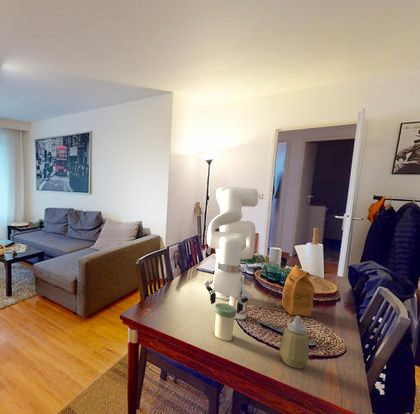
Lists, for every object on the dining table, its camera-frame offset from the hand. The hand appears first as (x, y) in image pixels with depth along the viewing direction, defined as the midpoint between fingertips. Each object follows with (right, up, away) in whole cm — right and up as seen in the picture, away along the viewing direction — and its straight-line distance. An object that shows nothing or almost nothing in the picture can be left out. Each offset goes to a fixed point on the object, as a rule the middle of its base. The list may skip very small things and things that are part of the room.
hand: (225, 307), depth 112 cm
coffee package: (+46, -10, +21) cm, 52 cm away
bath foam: (+16, -11, +17) cm, 25 cm away
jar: (0, -13, +2) cm, 13 cm away
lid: (0, -1, 0) cm, 1 cm away
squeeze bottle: (+16, -15, -14) cm, 26 cm away
